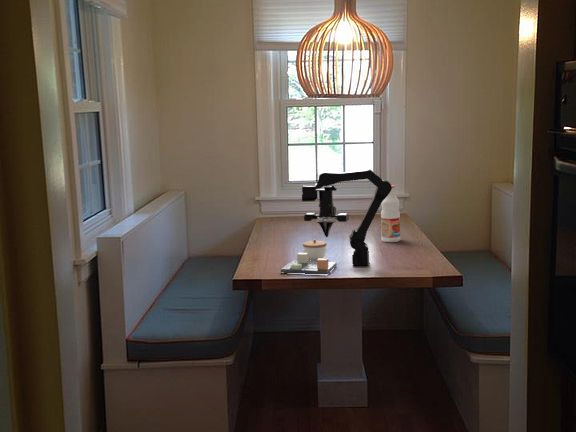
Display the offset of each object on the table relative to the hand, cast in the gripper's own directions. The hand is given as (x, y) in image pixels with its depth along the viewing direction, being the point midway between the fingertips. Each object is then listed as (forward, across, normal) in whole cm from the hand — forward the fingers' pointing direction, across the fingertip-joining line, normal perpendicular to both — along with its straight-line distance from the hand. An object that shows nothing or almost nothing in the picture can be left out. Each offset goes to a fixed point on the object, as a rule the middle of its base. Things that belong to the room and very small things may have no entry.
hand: (326, 236), depth 294 cm
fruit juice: (+13, -17, -58) cm, 62 cm away
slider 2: (+11, -2, +13) cm, 17 cm away
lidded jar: (+13, +9, -11) cm, 19 cm away
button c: (+13, +10, +13) cm, 21 cm away
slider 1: (+11, +10, +4) cm, 15 cm away
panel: (+13, +6, +8) cm, 16 cm away
